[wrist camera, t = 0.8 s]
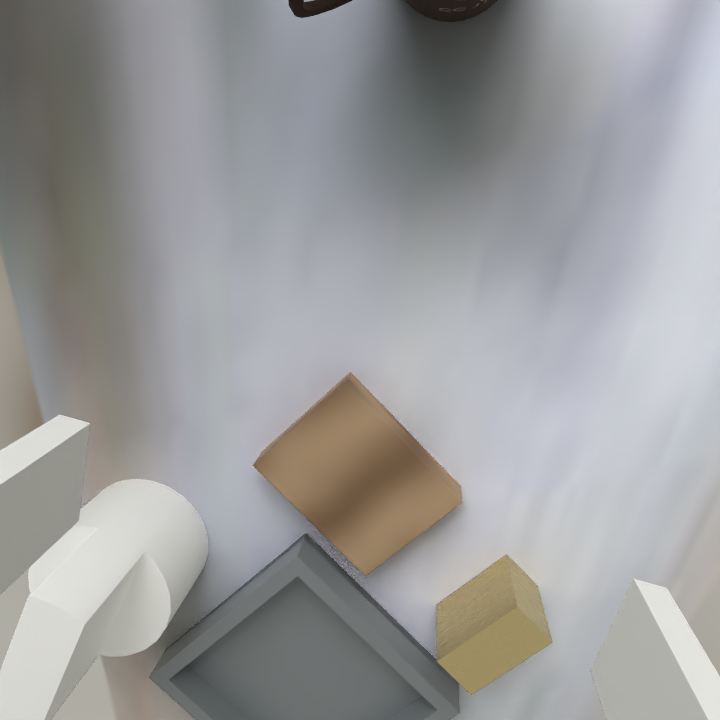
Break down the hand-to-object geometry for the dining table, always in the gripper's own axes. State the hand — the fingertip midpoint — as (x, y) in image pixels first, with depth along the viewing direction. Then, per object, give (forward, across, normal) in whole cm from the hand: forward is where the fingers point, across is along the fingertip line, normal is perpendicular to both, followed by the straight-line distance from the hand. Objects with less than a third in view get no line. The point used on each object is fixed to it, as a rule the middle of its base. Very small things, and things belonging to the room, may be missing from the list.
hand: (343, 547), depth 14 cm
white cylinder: (+22, -13, -19) cm, 32 cm away
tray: (+21, 0, -25) cm, 33 cm away
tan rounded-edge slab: (+22, 0, -9) cm, 24 cm away
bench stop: (+21, +10, -15) cm, 28 cm away
